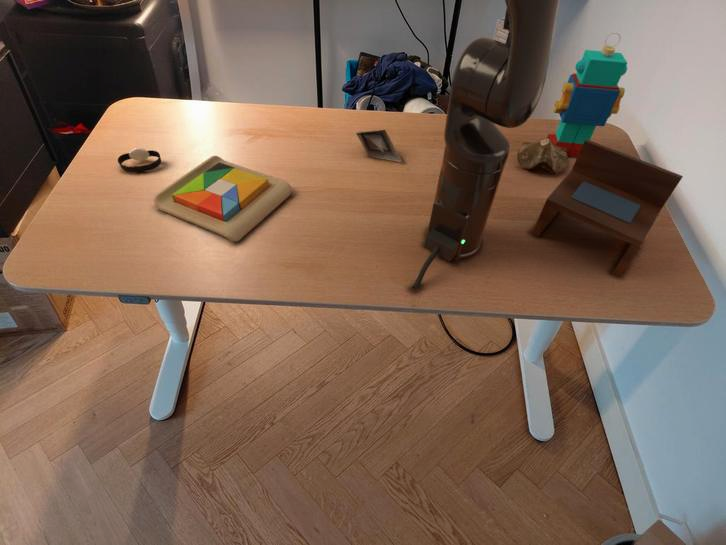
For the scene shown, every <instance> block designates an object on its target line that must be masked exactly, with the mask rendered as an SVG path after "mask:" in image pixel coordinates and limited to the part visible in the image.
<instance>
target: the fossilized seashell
mask: <svg viewBox="0 0 726 545" xmlns="http://www.w3.org/2000/svg"><path fill="white" fill-rule="evenodd" d="M566 151H567V149H566V148H562V147H558V146H556V145H553V144H552V142H551V141H550V140H549V139H547V138H543V139H542V140H540V141H537V142H529V141H523V142H522V146H521V147H520V148H519V149H518V151H517V153H516V159H517V161H518V164H519V166H521V168H523V169H525V170H532V169H537V168H540V167H542V168H543V169H545V170H546V171H548V172H549V173H551V174H555V175H558V174H561V173H563V172H564V171H565V170H566V169H567V168H568V166H569V163H570V161H569V156H567V153H566Z"/></svg>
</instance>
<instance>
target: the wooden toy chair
mask: <svg viewBox="0 0 726 545" xmlns="http://www.w3.org/2000/svg"><path fill="white" fill-rule="evenodd" d="M571 168H572V169H571V170H570V171H569V172H568V174H566V176H565V177H564V178H563V179H562V181H560V183H559V184H558V185H557V186H556V187H555V189H554V190H553V191H552V192H551V193H550V195H549V196H548V197H547V198H546V200H545V202H544V205H543V207H542V209H541V212H540V214H539V215H538V219H537V221H536V224H535V226H534V228H533V231H532V235H534V236H536V237H539V236H540V235H541V234H542V233H543V231H545V229H546V228H547V227H548V225H549V224H550V223H551V221H553V219H554V218H555V216H556V215H557V214H558V213H559V212H561V213H563V214H565V215H567V216H569V217H571V218H574V219H577V220H578V221H580V222H582V223H585V224H587V225H589V226H591V227H593V228H595V229H598V230H600V231H602V232H605V233H606V234H609V235H611V236H613V237H615V238H618V239H619V240H622V241H624V242H627V243H628V244H629V245H628V247H627V249H626V250H625V252H624V254H623V255H622V257H621V259H620V261H619V262H618V264H617V265H616V267H615V269H614V271H613V273H612V274H614V275H616V276H618V277H621V276H622V275H623V273H624V272H625V270H626V269H627V267H628V265H629V264H630V262H631V261H632V260H633V258H634V257H635V255H636V253H637V252H638V250H639V249H640V247H641V246H642V244H643V243H644V241H645V239H646V237H647V236H648V234H649V233H650V231H651V229H652V228H653V225H654V223H655V222H656V220H657V218H658V217H659V214H660V212H661V211H662V210H663V208H664V206H665V204H666V203H667V202H668V200H669V198H670V197H671V196H672V194H673V192H674V191H675V190H676V188H677V186H678V185H679V184H680V182H681V181H682V179H683V177H684V176H683V175H682V174H679V173H676V172H673V171H671V170H669V169H666V168H662V167H660V166H658V165H655V164H653V163H650V162H647V161H645V160H642V159H640V158H637V157H634V156H631V155H630V154H628V153H624V152H621V151H619V150H616V149H613V148H611V147H608V146H606V145H603V144H601V143H598V142H596V141H592V140H591V139H590V140H587V139H586V140H585V141H584V143H583V146H582V148H581V150H580V152H579V155H578V157H576V159H575V162H574V163H573V166H572V167H571Z"/></svg>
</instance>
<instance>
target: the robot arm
mask: <svg viewBox="0 0 726 545" xmlns="http://www.w3.org/2000/svg"><path fill="white" fill-rule="evenodd" d="M504 3H505V5H506V9H505V15H504V17H505V21H504V26H503V29H505V30H509V33H508V36H507V40H506V44H505V43H502V42H499V41H497V40H494V39H493V38H490V37H484V36H483V37H477V38H476V39H474V40H472V41H471V42H470V43H469V44H468V45H467V46H466V47H465V48H464V49H463V52H462V53H461V55H460V56H459V59H458V61H457V63H456V66H455V69H454V71H453V75H452V79H451V84H450V90H449V95H448V96H449V97H448V102H447V111H446V121H445V125H444V131H443V132H444V134H443V138H444V143H445V146H444V152H443V155H442V160H441V167H440V170H439V177H438V181H437V186H436V191H435V196H434V201H433V204H432V208H431V209H432V210H431V214H430V219H429V224H428V229H427V233H426V236H425V241H424V247H423V248H424V249H426V250H428V251H429V252H431V253H430V255H429V256H428V257H427V259H426V260H425V262H424V263H423V265H422V267H421V268H420V270H419V272H418V275H417V277H416V279H415V281H414V283H413V284H412V285H411V290H413V291H416V290H417V289H418V288H419V287H420V285H421V283H422V281H423V279H424V276H425V274H426V272H427V271H428V269H429V267H430V266H431V264H432V262H433V261H434V260H435V258H436V257H437V256H438V257H440V258H442V259H444V260H446V261H447V262H451V261H453V262H456V261H458V260H459V259H464V258H469V257H472V256H474V255H475V254H476V253H477V252H478V251H479V250H480V247H481V244H482V240H483V236H484V233H485V230H486V227H487V223H488V220H489V217H490V214H491V211H492V207H493V204H494V201H495V199H496V198H495V197H496V195H497V192H498V189H499V185H500V182H501V179H502V177H503V173H504V170H505V166H506V163H507V160H508V157H509V154H510V142H509V140H508V138H507V136H506V135H505V134H504V133H503V131H501V129H500V128H499V127H503V128H507V129H516V128H519V127H521V126H522V125H524V124H525V123H527V121H528V120H529V119H530V118H531V116H532V114H533V113H534V112H535V110H536V107H538V106H537V105H538V103H539V101H540V98H541V96H542V93H543V91H544V87H545V82H546V80H547V79H546V78H547V75H548V69H549V65H550V58H551V53H552V46H553V40H554V36H555V35H554V34H555V30H556V29H555V28H556V21H557V17H558V11H559V5H560V0H504ZM498 126H499V127H498Z"/></svg>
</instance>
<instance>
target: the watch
mask: <svg viewBox="0 0 726 545" xmlns="http://www.w3.org/2000/svg"><path fill="white" fill-rule="evenodd" d="M149 157H154V158H157V159H156V160H155V161H153V162H152V163H149V164H144V165H134V166H127V165H123V163H124V162H126V161H128V160H134V161H139V162H141V161H142V162H143V161H146V160H147V159H148V158H149ZM117 163H118V164H119V167H120V168H121V169H122V170H123V171H125V172H127V173H135V174H136V173H137V174H140V173H145V172H149V171H152V170H154V169H156V168H158V167H159V166H160V165H161V164H162V157H161V154H160V152H158V151H157V150H153V149H152V150H147V149H146V148H143V147H135V148H133V149H131V150H130V152H127V153H124V154H121V155H119V157H118V158H117Z"/></svg>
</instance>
